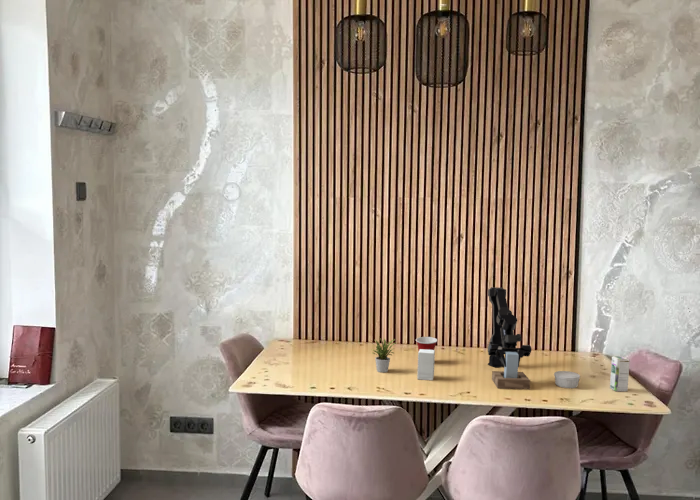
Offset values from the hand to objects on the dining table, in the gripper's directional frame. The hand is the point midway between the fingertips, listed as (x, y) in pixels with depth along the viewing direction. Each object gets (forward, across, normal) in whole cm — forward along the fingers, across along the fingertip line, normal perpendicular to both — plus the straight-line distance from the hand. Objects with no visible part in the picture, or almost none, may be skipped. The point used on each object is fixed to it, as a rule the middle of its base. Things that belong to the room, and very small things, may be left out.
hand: (511, 366), depth 301 cm
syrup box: (+8, +47, +4) cm, 48 cm away
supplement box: (0, -37, +12) cm, 39 cm away
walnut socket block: (+5, 0, +7) cm, 9 cm away
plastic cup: (-20, -35, +32) cm, 51 cm away
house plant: (-7, -56, +19) cm, 59 cm away
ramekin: (+5, +25, +8) cm, 27 cm away
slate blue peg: (+4, 0, +6) cm, 7 cm away
